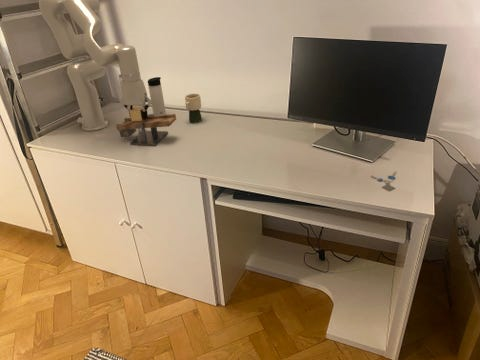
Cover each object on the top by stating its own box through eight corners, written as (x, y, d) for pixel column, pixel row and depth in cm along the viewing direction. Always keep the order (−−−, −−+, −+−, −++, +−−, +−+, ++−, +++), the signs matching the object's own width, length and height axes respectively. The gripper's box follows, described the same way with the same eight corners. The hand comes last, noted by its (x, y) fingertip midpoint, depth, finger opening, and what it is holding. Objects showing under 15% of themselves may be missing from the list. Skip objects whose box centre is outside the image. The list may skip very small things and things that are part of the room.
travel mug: (165, 118, 189) (159, 79, 179) (152, 119, 189) (145, 79, 179) (167, 114, 194) (161, 75, 184) (155, 114, 194) (148, 76, 184)
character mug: (196, 116, 188) (193, 91, 182) (207, 118, 185) (205, 93, 178) (183, 124, 181) (179, 98, 174) (194, 126, 177) (191, 99, 171)
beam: (120, 138, 165) (115, 124, 162) (129, 131, 172) (125, 118, 169) (171, 135, 158) (167, 120, 155) (178, 127, 165) (175, 113, 162)
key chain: (395, 193, 119) (395, 191, 118) (368, 189, 121) (368, 187, 121) (396, 172, 130) (396, 170, 129) (371, 169, 132) (372, 167, 132)
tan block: (132, 123, 161) (129, 110, 158) (137, 119, 166) (134, 106, 163) (142, 123, 160) (140, 110, 157) (147, 119, 165) (145, 106, 162)
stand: (130, 145, 162) (125, 124, 157) (144, 132, 174) (140, 113, 169) (155, 146, 159) (151, 125, 155) (168, 133, 171) (165, 113, 166)
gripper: (108, 79, 152) (117, 121, 161) (146, 80, 148) (153, 122, 157) (117, 74, 158) (126, 115, 167) (153, 75, 155) (160, 116, 164)
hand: (139, 118), depth 162 cm, fingers closed on tan block, 5 cm apart
